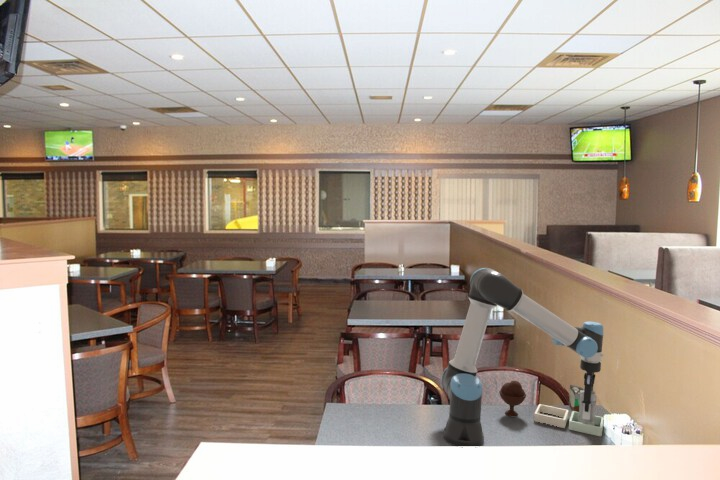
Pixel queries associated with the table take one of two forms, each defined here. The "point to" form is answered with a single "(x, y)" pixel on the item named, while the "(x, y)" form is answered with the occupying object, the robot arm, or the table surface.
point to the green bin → (586, 425)
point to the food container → (575, 397)
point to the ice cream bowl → (512, 396)
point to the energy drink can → (592, 411)
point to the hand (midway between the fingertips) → (586, 415)
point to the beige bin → (549, 419)
